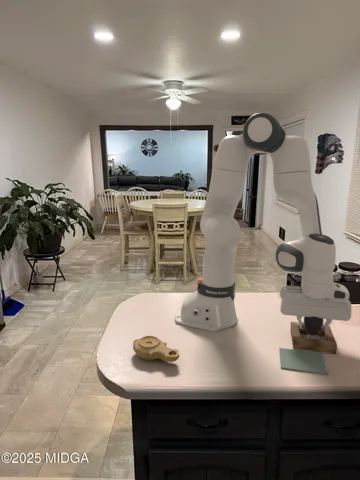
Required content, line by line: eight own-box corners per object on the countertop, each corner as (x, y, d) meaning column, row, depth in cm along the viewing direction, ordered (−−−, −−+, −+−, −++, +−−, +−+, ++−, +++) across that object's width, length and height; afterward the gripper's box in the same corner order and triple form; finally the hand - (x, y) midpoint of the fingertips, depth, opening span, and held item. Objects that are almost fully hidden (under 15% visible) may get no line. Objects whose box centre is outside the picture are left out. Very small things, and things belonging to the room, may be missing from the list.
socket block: (293, 348, 99) (293, 339, 98) (290, 329, 110) (290, 321, 110) (336, 354, 96) (337, 345, 95) (328, 334, 107) (329, 325, 107)
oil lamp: (178, 369, 90) (178, 353, 88) (127, 367, 91) (126, 351, 90) (181, 348, 100) (181, 333, 99) (135, 346, 101) (135, 332, 100)
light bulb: (299, 337, 106) (301, 308, 103) (315, 336, 106) (318, 307, 104) (307, 346, 100) (309, 316, 98) (324, 345, 101) (327, 315, 98)
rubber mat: (280, 368, 90) (280, 367, 89) (279, 348, 99) (279, 347, 99) (328, 375, 87) (328, 373, 86) (322, 354, 96) (322, 353, 96)
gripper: (281, 288, 99) (278, 330, 102) (355, 294, 94) (350, 338, 97) (280, 281, 105) (277, 321, 108) (350, 286, 100) (345, 328, 103)
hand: (312, 329), depth 102 cm, fingers closed on light bulb, 5 cm apart
